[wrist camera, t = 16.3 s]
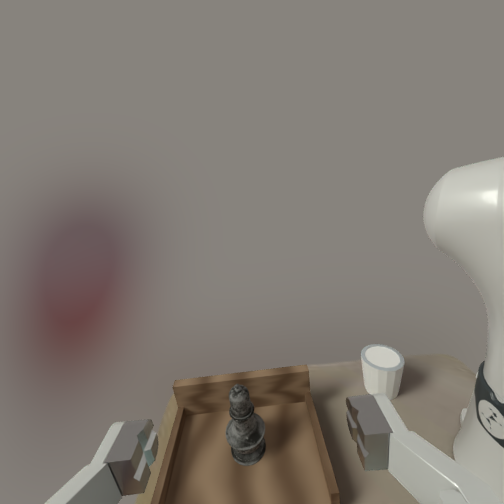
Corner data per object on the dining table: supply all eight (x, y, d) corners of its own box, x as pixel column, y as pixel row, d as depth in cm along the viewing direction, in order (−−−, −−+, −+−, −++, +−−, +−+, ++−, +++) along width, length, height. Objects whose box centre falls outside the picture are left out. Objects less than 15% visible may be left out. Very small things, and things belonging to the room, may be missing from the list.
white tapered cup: (395, 374, 50) (397, 344, 48) (408, 405, 43) (410, 371, 41) (357, 372, 51) (357, 342, 49) (364, 401, 45) (364, 369, 43)
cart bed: (309, 400, 47) (306, 364, 44) (356, 572, 27) (356, 524, 24) (184, 415, 47) (175, 380, 45) (138, 595, 27) (117, 550, 25)
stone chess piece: (236, 425, 42) (224, 366, 39) (271, 431, 41) (262, 370, 37) (223, 463, 37) (208, 399, 33) (262, 472, 35) (251, 405, 32)
